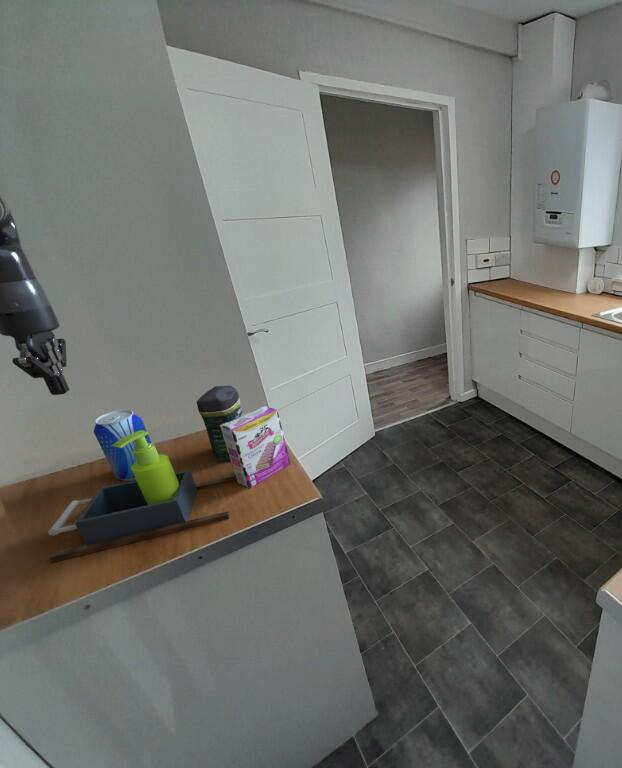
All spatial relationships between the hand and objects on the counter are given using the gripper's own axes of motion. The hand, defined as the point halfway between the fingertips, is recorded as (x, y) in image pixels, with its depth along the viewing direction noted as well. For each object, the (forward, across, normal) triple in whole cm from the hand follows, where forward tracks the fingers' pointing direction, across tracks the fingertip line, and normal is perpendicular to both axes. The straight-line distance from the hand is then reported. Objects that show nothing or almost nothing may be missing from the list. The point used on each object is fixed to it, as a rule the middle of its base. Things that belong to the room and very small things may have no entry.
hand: (61, 393), depth 80 cm
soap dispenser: (+27, +9, +12) cm, 31 cm away
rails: (+27, +9, +10) cm, 30 cm away
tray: (+27, +9, +6) cm, 29 cm away
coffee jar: (+27, -12, +22) cm, 37 cm away
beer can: (+27, -11, +2) cm, 29 cm away
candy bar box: (+27, +2, +30) cm, 41 cm away
